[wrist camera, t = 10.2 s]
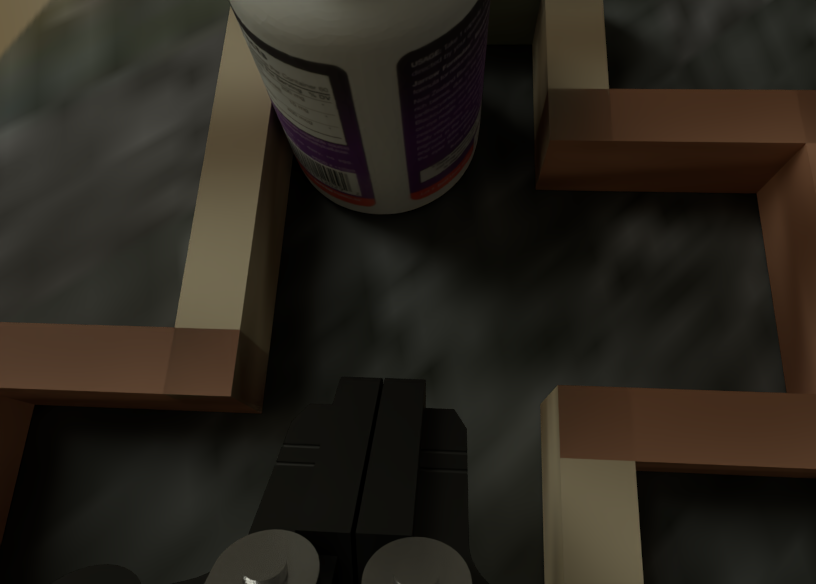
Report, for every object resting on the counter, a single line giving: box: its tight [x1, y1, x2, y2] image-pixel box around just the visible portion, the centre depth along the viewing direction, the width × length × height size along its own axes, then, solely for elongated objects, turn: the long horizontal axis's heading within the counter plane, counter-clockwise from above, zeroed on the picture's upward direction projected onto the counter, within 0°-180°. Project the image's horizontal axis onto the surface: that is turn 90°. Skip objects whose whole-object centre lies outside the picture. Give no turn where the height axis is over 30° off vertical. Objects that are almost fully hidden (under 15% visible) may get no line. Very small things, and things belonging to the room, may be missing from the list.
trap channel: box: [0, 0, 816, 584], centre depth 14 cm, size 26×22×4 cm
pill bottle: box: [229, 0, 490, 214], centre depth 14 cm, size 5×5×10 cm
